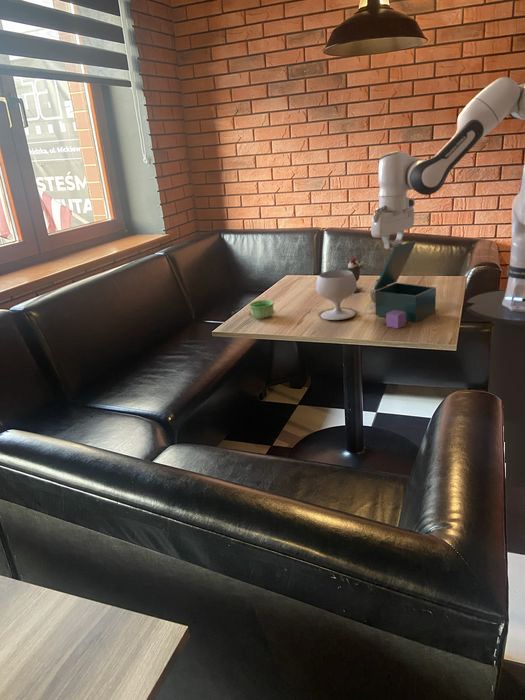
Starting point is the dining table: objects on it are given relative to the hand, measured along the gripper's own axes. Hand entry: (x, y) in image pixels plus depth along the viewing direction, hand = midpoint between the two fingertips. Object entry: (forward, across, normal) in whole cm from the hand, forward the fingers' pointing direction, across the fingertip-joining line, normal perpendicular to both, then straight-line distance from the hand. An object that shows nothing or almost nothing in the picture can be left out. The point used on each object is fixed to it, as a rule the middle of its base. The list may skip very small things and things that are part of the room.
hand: (393, 246), depth 179 cm
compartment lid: (+6, 0, -1) cm, 7 cm away
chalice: (+23, -13, +14) cm, 30 cm away
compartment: (+23, 0, -4) cm, 23 cm away
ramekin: (+23, -26, +40) cm, 52 cm away
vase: (+23, +7, +10) cm, 26 cm away
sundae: (+23, +17, +29) cm, 41 cm away
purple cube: (+23, -12, -8) cm, 27 cm away
